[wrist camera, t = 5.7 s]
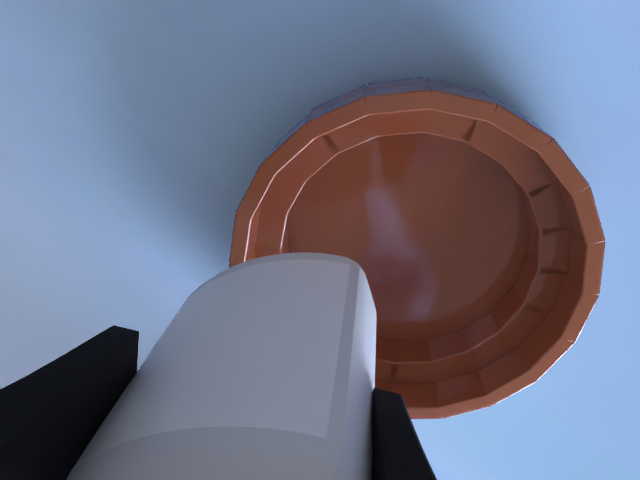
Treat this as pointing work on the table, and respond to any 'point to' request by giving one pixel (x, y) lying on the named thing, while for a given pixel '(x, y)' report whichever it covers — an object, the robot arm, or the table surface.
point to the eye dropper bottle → (252, 381)
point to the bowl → (438, 234)
